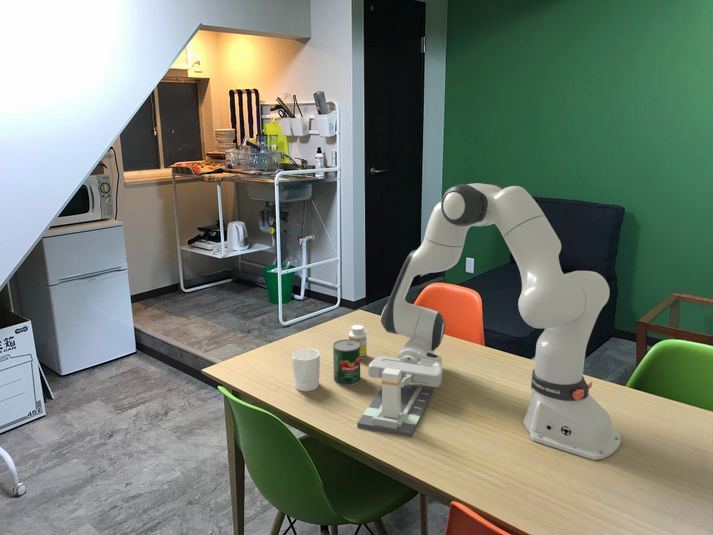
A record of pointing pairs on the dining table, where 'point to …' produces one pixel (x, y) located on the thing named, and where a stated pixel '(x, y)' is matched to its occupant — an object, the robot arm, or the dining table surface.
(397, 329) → the robot arm
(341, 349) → the canned tomato
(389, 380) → the fader
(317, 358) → the white cup
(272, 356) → the dining table surface
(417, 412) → the grey slider track base
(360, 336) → the supplement bottle
